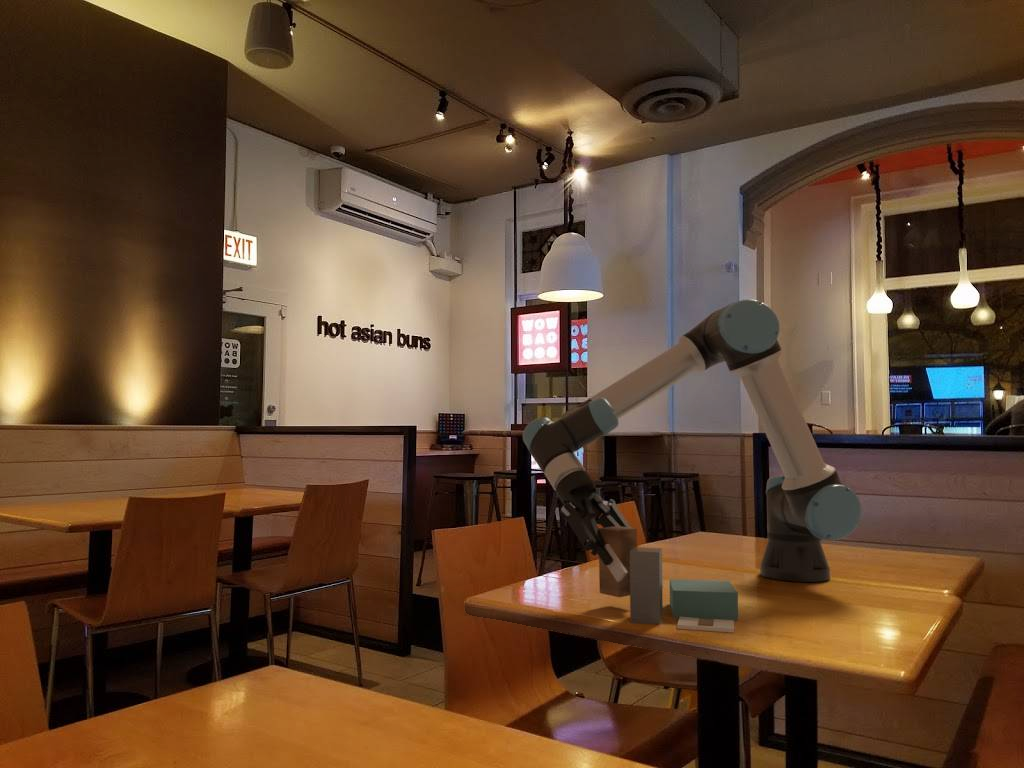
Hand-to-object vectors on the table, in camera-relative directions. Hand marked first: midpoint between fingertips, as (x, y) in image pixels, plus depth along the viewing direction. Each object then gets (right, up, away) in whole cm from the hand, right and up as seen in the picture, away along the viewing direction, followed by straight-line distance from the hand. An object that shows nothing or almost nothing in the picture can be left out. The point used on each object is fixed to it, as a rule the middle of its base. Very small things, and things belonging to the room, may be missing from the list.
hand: (633, 575), depth 137 cm
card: (+10, -6, -12) cm, 17 cm away
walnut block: (-2, -4, +3) cm, 5 cm away
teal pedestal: (+12, -7, -1) cm, 14 cm away
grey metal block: (+1, -6, -7) cm, 10 cm away
